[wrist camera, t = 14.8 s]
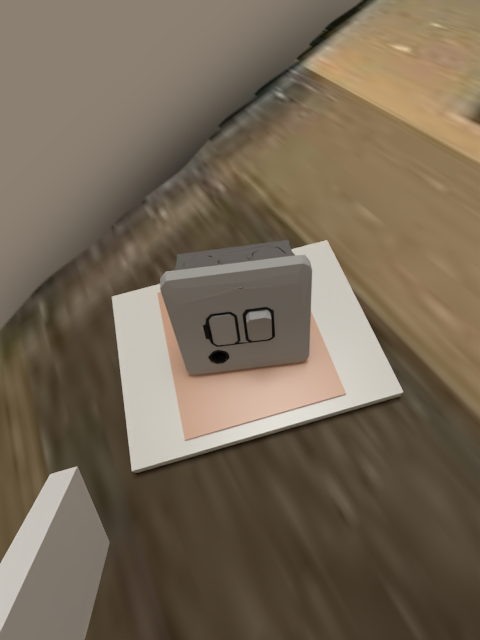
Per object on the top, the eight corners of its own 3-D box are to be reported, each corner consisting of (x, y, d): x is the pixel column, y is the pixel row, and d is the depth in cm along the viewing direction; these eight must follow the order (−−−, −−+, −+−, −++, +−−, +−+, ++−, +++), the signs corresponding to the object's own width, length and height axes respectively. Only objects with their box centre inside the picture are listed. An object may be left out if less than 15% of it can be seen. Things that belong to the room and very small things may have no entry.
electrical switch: (187, 378, 29) (155, 305, 22) (187, 322, 32) (158, 241, 25) (309, 363, 29) (320, 284, 21) (297, 309, 32) (303, 223, 24)
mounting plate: (325, 247, 36) (327, 238, 35) (399, 396, 28) (404, 391, 27) (116, 302, 35) (110, 295, 34) (136, 473, 27) (131, 470, 26)
